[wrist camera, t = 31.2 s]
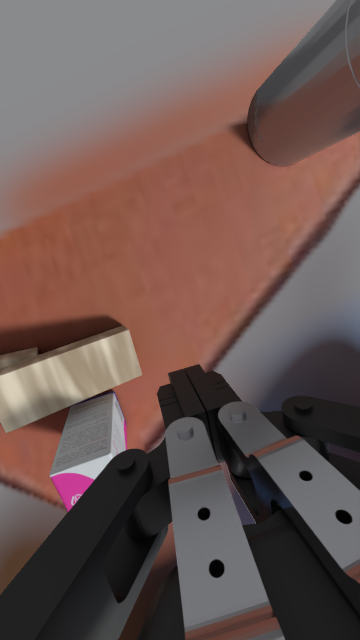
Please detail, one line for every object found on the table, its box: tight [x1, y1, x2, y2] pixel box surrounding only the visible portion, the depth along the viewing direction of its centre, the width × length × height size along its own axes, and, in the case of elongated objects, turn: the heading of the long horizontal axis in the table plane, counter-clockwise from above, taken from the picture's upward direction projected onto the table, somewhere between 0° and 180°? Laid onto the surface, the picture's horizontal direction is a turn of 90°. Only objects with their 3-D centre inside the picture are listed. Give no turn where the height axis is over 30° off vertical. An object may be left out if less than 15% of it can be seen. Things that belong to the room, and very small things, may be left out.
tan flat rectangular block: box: [0, 325, 142, 433], centre depth 31 cm, size 2×6×15 cm
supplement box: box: [50, 391, 127, 512], centre depth 30 cm, size 6×6×12 cm
